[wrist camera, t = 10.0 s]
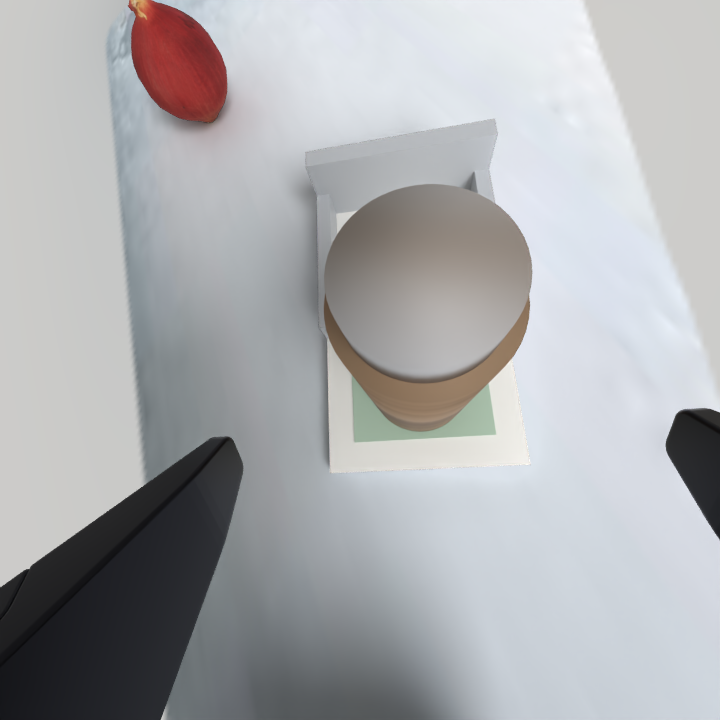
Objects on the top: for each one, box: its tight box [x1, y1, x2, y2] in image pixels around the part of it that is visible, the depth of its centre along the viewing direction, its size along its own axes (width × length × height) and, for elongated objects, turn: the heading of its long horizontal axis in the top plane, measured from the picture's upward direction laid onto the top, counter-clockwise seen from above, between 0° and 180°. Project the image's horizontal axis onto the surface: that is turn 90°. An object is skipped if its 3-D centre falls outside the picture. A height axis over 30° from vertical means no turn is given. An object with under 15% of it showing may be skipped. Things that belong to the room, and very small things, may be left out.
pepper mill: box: [324, 184, 532, 432], centre depth 13 cm, size 5×5×12 cm
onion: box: [128, 0, 227, 123], centre depth 24 cm, size 6×6×8 cm
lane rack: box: [305, 119, 531, 473], centre depth 18 cm, size 17×10×5 cm, turn 3°
